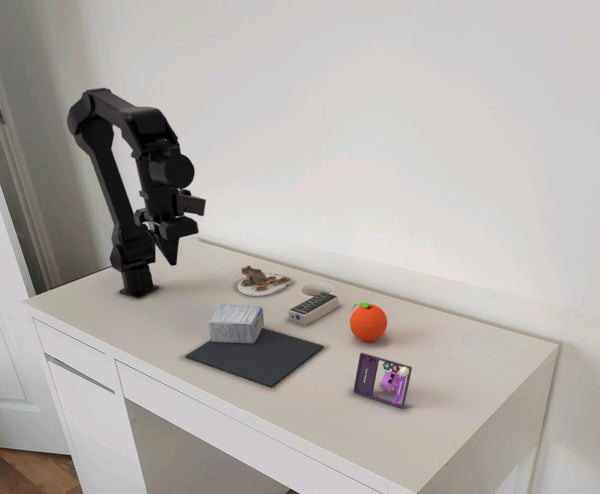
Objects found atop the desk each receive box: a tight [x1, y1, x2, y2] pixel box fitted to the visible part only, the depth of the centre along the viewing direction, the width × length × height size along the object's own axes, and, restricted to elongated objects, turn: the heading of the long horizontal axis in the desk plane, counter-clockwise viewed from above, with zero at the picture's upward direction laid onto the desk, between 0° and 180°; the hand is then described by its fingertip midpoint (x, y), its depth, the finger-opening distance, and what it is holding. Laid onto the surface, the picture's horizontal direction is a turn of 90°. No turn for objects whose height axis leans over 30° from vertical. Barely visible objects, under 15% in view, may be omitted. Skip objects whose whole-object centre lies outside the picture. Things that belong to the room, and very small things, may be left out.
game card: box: [352, 352, 413, 409], centre depth 99 cm, size 7×5×9 cm
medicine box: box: [208, 303, 265, 344], centre depth 118 cm, size 8×4×9 cm
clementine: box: [349, 302, 388, 343], centre depth 114 cm, size 8×7×7 cm
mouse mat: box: [184, 327, 325, 388], centre depth 113 cm, size 20×16×1 cm
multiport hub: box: [288, 291, 339, 327], centre depth 126 cm, size 4×11×2 cm, turn 139°
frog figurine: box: [237, 265, 292, 297], centre depth 139 cm, size 12×12×4 cm
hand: (173, 265), depth 121 cm, fingers closed
